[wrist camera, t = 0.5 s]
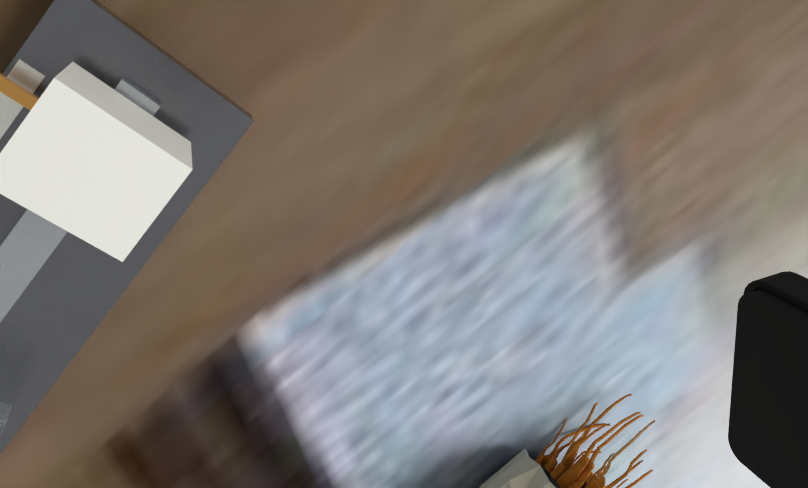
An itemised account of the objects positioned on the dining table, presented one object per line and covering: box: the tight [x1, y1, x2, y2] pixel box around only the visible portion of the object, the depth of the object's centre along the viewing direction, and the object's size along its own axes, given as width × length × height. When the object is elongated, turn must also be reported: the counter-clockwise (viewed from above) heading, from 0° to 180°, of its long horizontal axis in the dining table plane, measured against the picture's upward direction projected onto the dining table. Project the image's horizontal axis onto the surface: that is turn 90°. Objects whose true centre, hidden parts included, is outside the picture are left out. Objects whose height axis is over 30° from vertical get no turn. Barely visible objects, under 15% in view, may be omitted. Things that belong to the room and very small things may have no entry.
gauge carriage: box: [0, 62, 193, 262], centre depth 29 cm, size 5×8×5 cm, turn 49°
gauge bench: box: [0, 0, 254, 454], centre depth 31 cm, size 24×10×8 cm, turn 139°
